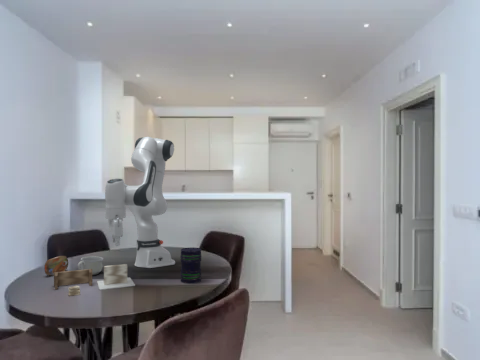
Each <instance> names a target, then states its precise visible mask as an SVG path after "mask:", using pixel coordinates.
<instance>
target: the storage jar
mask: <svg viewBox="0 0 480 360" xmlns="http://www.w3.org/2000/svg"><path fill="white" fill-rule="evenodd" d="M201 262H202V249H201V248H200V247H184V248H181V249H180V263H181V264H180V275H179V276H180V283H183V284H197V283H198V284H199V283H200V282H201V281H202V269H201V268H202V267H201V265H202V263H201Z"/></svg>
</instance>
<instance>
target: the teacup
mask: <svg viewBox="0 0 480 360" xmlns="http://www.w3.org/2000/svg"><path fill="white" fill-rule="evenodd" d="M103 268H104V257H102V256H98V255H97V256H95V255H91V256H84V257H81V258H80V261H79V262H78V263H77V269H78V270H86V269H92V276H94V275H98V274H99V273H100V272H102V270H103Z"/></svg>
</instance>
